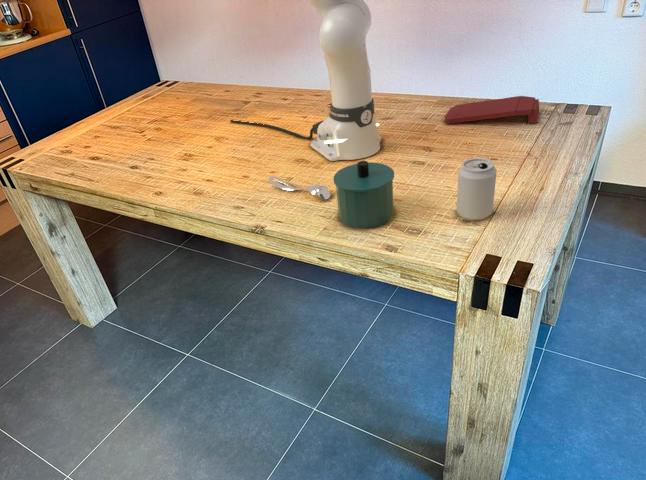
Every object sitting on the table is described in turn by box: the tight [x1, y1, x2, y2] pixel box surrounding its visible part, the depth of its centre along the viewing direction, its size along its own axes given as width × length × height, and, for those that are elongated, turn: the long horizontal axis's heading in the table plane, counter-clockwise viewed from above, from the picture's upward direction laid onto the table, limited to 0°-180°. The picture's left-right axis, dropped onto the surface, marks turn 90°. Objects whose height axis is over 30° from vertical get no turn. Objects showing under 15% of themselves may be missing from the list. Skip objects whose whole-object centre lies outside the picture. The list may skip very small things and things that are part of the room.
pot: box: [335, 179, 395, 229], centre depth 116 cm, size 12×12×10 cm
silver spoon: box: [268, 176, 331, 200], centre depth 132 cm, size 20×4×5 cm
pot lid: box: [333, 160, 395, 192], centre depth 112 cm, size 13×13×4 cm
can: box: [455, 157, 498, 221], centre depth 108 cm, size 8×8×12 cm
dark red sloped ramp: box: [444, 95, 540, 125], centre depth 152 cm, size 12×5×25 cm
